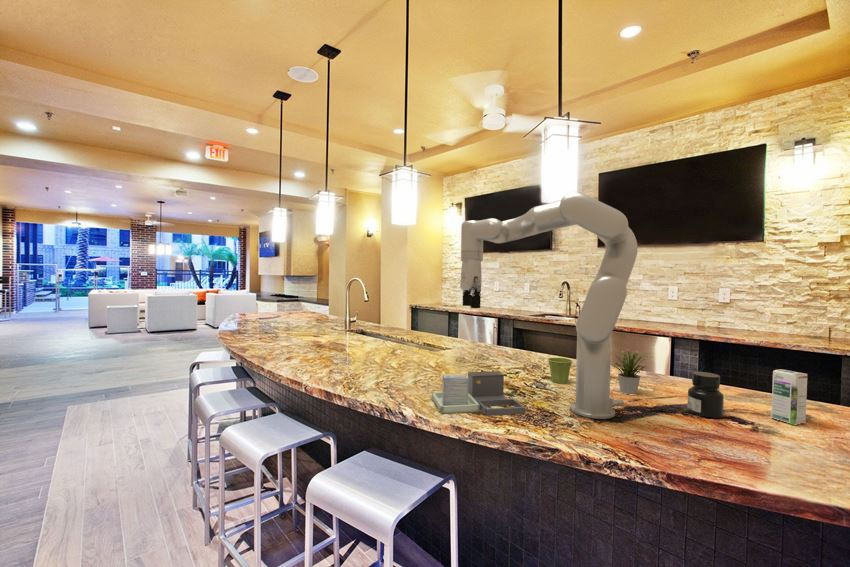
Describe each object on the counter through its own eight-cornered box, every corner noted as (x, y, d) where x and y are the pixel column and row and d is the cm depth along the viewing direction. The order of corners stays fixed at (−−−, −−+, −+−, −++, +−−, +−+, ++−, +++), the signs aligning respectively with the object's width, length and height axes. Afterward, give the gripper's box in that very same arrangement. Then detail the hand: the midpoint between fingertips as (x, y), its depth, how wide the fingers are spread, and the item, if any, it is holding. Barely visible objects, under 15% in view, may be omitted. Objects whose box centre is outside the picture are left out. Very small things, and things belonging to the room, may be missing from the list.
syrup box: (770, 418, 114) (771, 370, 114) (782, 416, 116) (783, 368, 116) (794, 426, 109) (796, 374, 108) (806, 423, 111) (808, 373, 110)
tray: (466, 397, 130) (466, 391, 130) (479, 411, 116) (479, 405, 116) (431, 398, 128) (431, 392, 128) (440, 413, 114) (441, 406, 114)
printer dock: (500, 392, 136) (500, 371, 136) (525, 413, 115) (526, 388, 115) (465, 394, 134) (465, 372, 133) (485, 415, 113) (486, 389, 113)
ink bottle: (685, 406, 124) (686, 369, 124) (719, 411, 120) (720, 372, 120) (689, 415, 116) (690, 376, 115) (726, 421, 111) (727, 380, 111)
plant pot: (542, 379, 154) (542, 357, 154) (562, 377, 157) (562, 356, 157) (556, 385, 146) (557, 362, 145) (577, 384, 148) (578, 361, 148)
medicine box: (466, 401, 124) (467, 374, 124) (468, 406, 120) (468, 378, 119) (442, 401, 124) (442, 374, 124) (442, 405, 120) (443, 377, 119)
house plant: (665, 397, 133) (666, 350, 132) (636, 401, 128) (637, 352, 127) (629, 386, 146) (630, 343, 146) (601, 389, 141) (603, 345, 141)
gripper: (454, 257, 140) (454, 305, 141) (468, 255, 123) (467, 309, 124) (474, 258, 142) (473, 305, 142) (491, 256, 125) (490, 309, 125)
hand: (471, 306), depth 133 cm, fingers open, 9 cm apart
